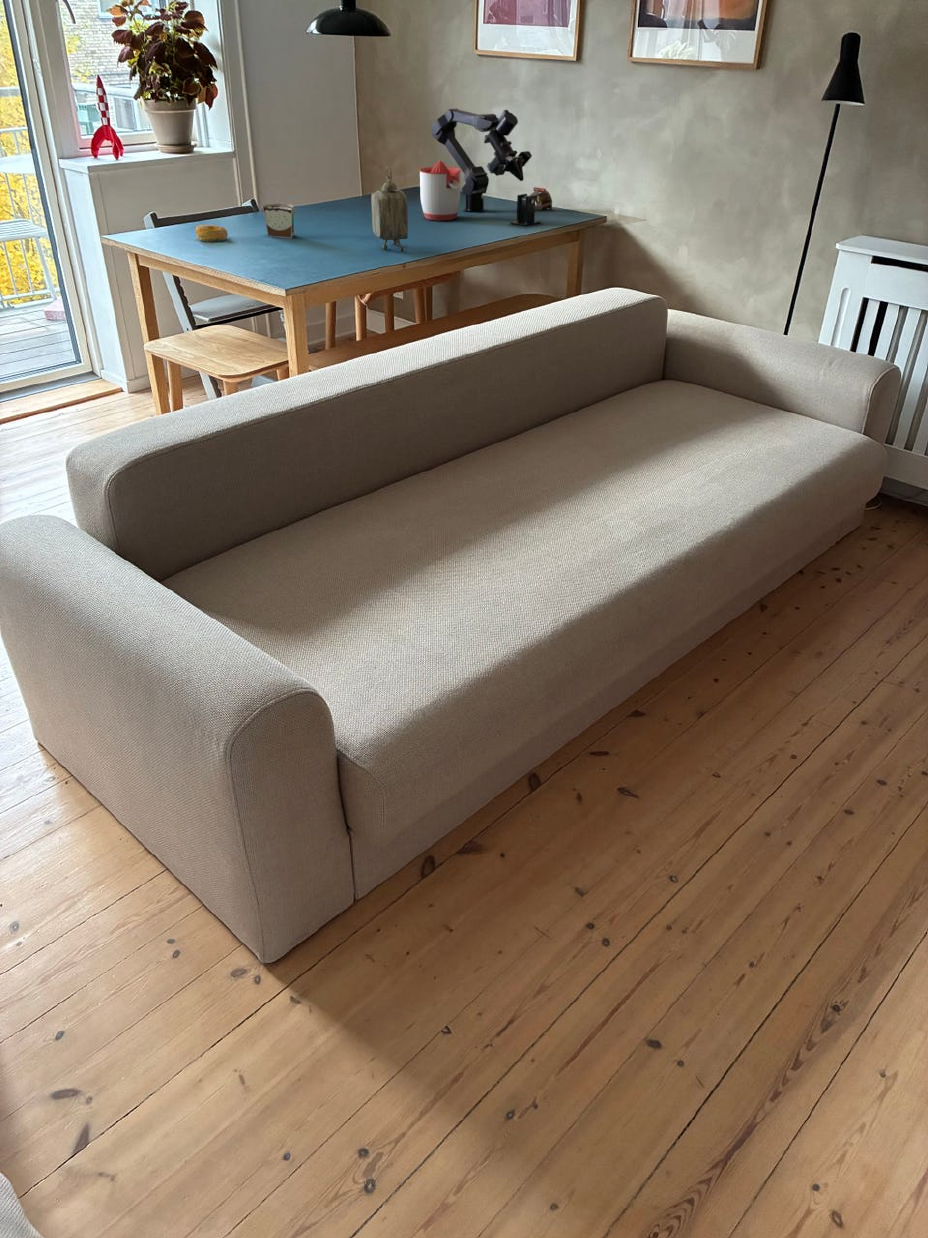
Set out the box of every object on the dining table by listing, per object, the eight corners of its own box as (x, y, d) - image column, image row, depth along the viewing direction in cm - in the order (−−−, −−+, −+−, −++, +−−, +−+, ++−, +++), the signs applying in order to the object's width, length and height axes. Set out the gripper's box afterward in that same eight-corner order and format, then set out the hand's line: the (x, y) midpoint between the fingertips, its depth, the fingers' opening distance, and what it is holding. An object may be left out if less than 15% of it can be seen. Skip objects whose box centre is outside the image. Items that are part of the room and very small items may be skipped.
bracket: (525, 222, 356) (526, 192, 350) (540, 224, 352) (541, 194, 346) (510, 225, 350) (511, 195, 344) (524, 228, 346) (526, 197, 340)
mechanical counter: (555, 198, 368) (554, 187, 375) (522, 194, 367) (522, 184, 374) (552, 216, 373) (551, 206, 380) (519, 213, 372) (519, 202, 379)
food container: (303, 235, 334) (301, 204, 328) (295, 238, 329) (293, 207, 324) (272, 232, 337) (269, 202, 332) (264, 235, 332) (261, 205, 327)
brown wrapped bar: (536, 191, 352) (534, 184, 350) (546, 192, 349) (545, 186, 347) (519, 204, 348) (518, 198, 346) (529, 206, 345) (528, 199, 343)
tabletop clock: (408, 252, 311) (406, 169, 297) (381, 254, 309) (378, 170, 295) (398, 243, 323) (396, 163, 309) (372, 245, 321) (368, 164, 307)
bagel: (218, 243, 322) (216, 228, 319) (190, 240, 325) (188, 226, 322) (234, 237, 330) (232, 223, 327) (207, 235, 333) (205, 220, 330)
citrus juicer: (440, 224, 350) (440, 165, 339) (411, 217, 361) (410, 160, 350) (472, 219, 359) (473, 161, 348) (442, 212, 370) (442, 156, 359)
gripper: (504, 157, 365) (525, 191, 365) (472, 162, 354) (494, 197, 353) (521, 136, 356) (542, 171, 356) (488, 140, 345) (510, 177, 345)
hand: (522, 180), depth 353 cm, fingers closed
